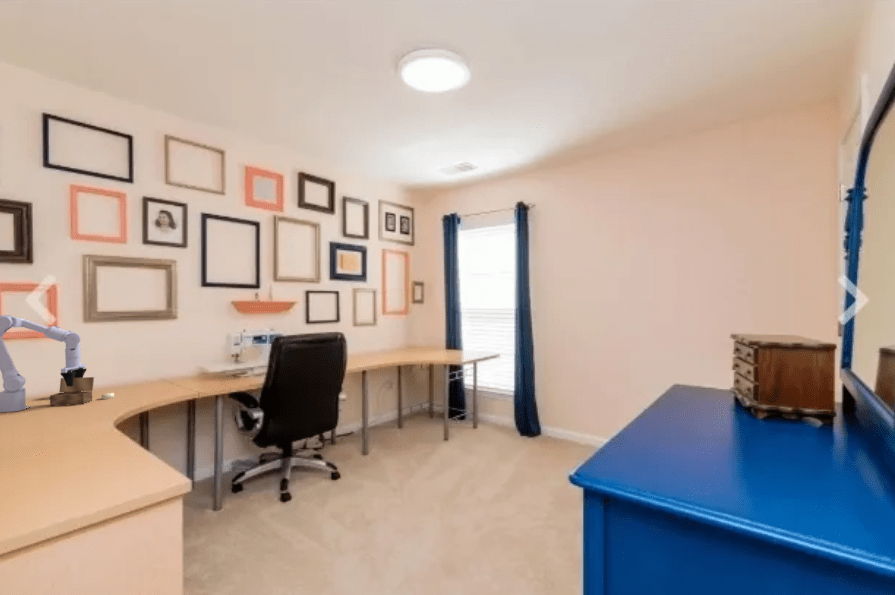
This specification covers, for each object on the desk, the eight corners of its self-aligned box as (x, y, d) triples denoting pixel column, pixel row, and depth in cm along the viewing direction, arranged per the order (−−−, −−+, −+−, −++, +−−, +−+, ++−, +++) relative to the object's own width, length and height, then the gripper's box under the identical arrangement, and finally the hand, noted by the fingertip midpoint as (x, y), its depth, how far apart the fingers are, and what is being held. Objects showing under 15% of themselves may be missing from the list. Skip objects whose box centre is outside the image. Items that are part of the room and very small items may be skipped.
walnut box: (50, 406, 202) (50, 395, 202) (59, 402, 209) (59, 392, 209) (83, 404, 205) (83, 393, 205) (92, 401, 211) (91, 391, 211)
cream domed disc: (98, 400, 215) (98, 395, 215) (105, 397, 220) (105, 393, 220) (110, 399, 215) (110, 394, 215) (116, 397, 221) (116, 392, 221)
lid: (60, 378, 210) (61, 378, 210) (59, 392, 209) (60, 392, 209) (93, 377, 212) (94, 377, 213) (92, 390, 211) (92, 390, 212)
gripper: (72, 359, 202) (73, 387, 202) (91, 355, 216) (92, 381, 216) (55, 359, 201) (56, 388, 201) (76, 355, 215) (76, 382, 215)
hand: (74, 385), depth 209 cm, fingers open, 5 cm apart
